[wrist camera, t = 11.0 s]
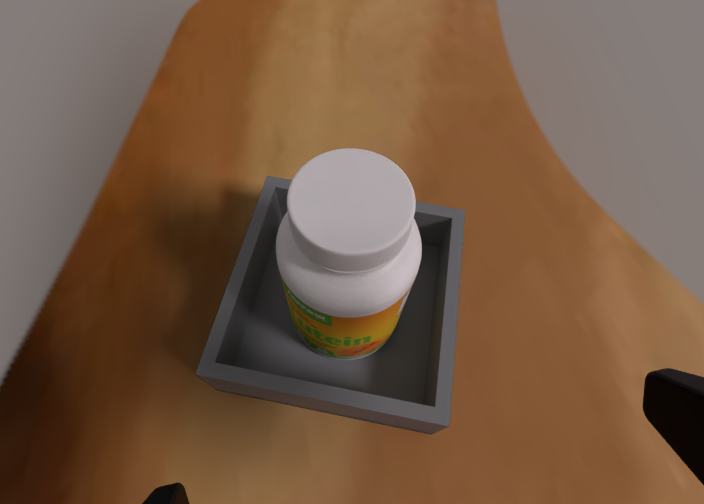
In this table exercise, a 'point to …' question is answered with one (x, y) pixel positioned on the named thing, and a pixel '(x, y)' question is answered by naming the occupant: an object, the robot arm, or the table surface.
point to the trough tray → (329, 374)
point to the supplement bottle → (348, 251)
